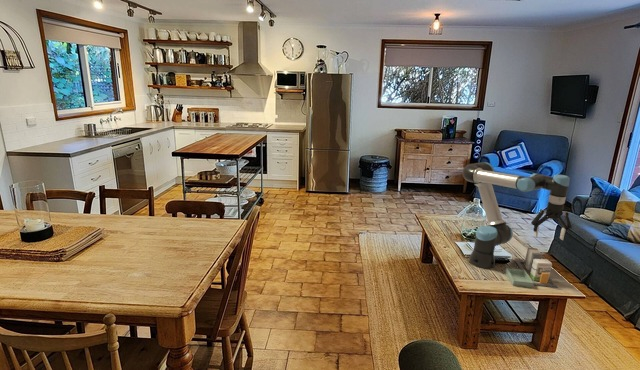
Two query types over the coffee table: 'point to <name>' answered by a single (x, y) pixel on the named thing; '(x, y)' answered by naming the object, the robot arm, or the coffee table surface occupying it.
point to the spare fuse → (531, 257)
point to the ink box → (540, 268)
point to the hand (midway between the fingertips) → (548, 238)
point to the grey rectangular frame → (542, 280)
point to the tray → (519, 277)
